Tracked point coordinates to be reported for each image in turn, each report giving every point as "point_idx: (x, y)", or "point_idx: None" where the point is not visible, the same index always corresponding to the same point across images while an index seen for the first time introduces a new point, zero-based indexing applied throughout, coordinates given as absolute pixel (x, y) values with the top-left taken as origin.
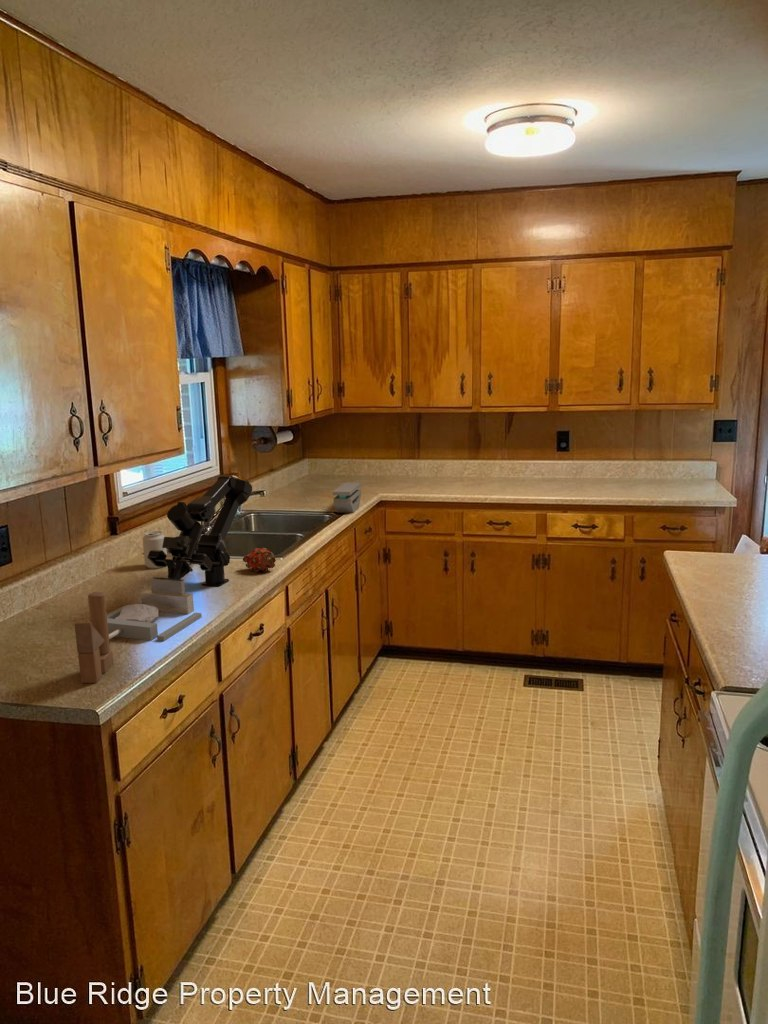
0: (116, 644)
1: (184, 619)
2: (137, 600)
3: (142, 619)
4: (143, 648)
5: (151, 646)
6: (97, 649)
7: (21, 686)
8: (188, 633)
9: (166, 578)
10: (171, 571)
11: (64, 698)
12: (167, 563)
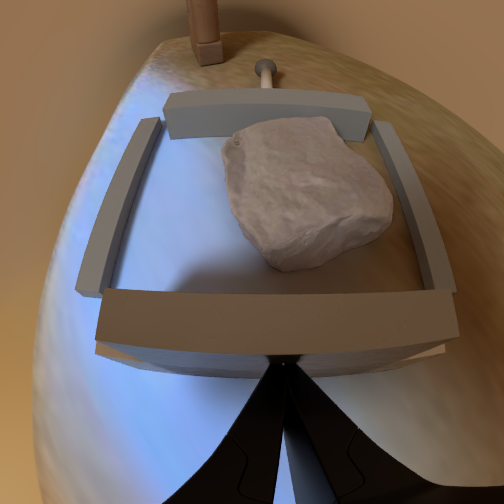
0: None
1: (116, 217)
2: (474, 402)
3: (241, 135)
4: None
5: None
6: (189, 16)
7: (279, 37)
8: (96, 174)
9: (314, 343)
10: (320, 455)
11: None
12: (463, 495)
